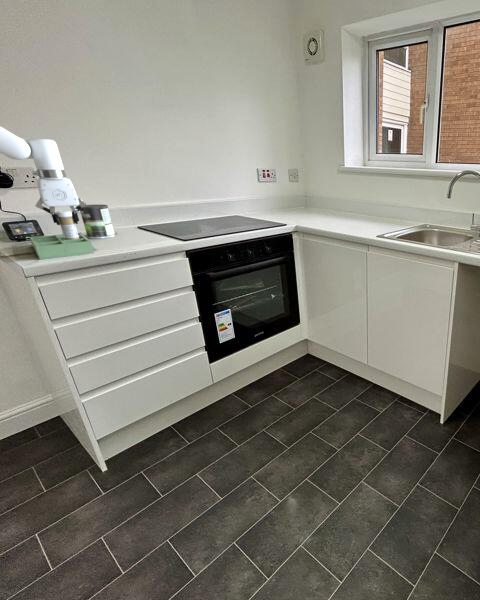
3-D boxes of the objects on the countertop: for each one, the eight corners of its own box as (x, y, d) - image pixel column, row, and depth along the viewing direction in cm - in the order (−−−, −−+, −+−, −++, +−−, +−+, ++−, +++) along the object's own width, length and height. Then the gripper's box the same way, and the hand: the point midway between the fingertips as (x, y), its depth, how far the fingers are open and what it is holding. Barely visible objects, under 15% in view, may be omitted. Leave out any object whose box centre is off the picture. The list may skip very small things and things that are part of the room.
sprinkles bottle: (70, 244, 142) (60, 210, 137) (84, 244, 143) (74, 210, 138) (63, 246, 138) (52, 212, 133) (77, 246, 139) (67, 212, 134)
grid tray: (39, 259, 126) (35, 247, 124) (33, 248, 140) (29, 237, 138) (94, 252, 137) (91, 241, 135) (83, 243, 151) (80, 232, 149)
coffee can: (95, 239, 157) (86, 207, 152) (82, 237, 161) (73, 205, 156) (120, 236, 166) (112, 205, 161) (107, 233, 170) (99, 203, 165)
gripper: (20, 175, 122) (38, 227, 129) (83, 175, 134) (97, 223, 141) (19, 174, 127) (36, 224, 134) (80, 174, 139) (93, 220, 145)
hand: (67, 223), depth 137 cm, fingers closed on sprinkles bottle, 4 cm apart
